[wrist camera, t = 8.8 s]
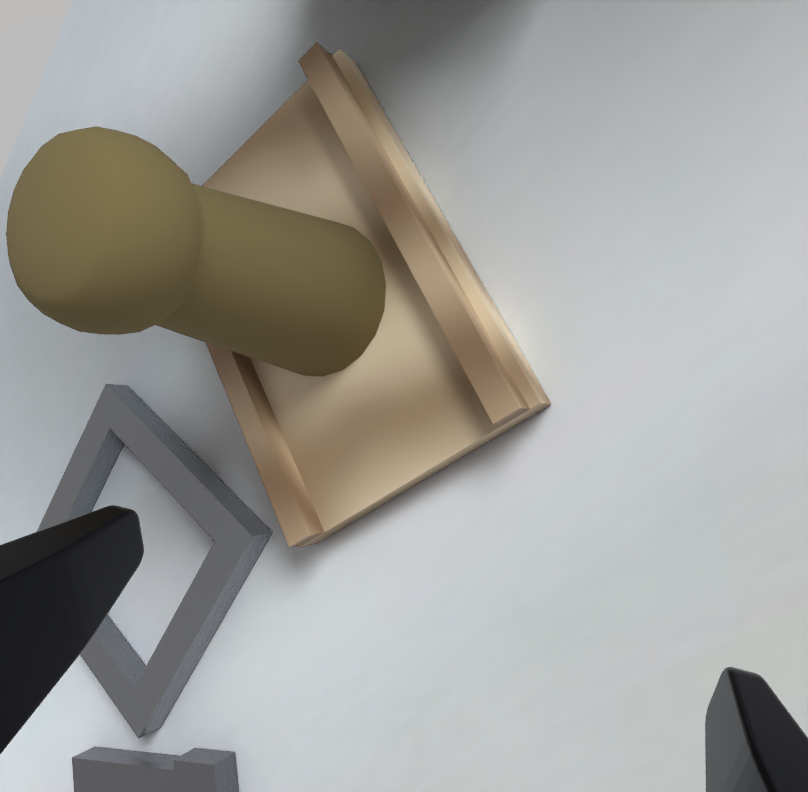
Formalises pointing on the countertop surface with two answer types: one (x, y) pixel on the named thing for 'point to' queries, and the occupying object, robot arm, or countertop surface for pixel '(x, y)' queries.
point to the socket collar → (216, 579)
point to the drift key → (154, 771)
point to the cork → (187, 257)
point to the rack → (398, 330)
